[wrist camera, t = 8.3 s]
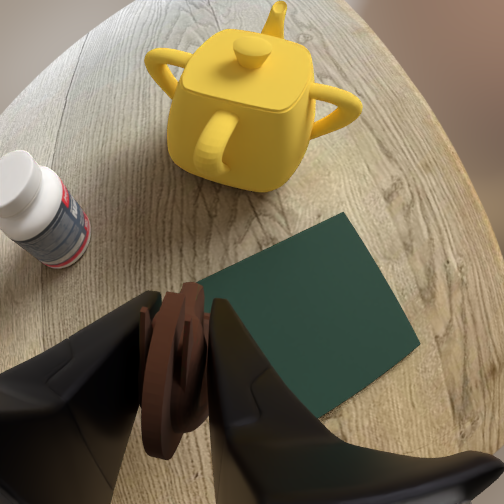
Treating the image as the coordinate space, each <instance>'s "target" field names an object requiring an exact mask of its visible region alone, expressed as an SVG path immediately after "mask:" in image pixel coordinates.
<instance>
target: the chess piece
mask: <svg viewBox="0 0 504 504" xmlns="http://www.w3.org/2000/svg"><path fill="white" fill-rule="evenodd" d="M204 298H205V296H204V289H203V286H202V285H200V284H198V283H195V282H186V283H183V287H182V289H181V291H180V293H179V294H178V293H173V292H166V295H165V297H164V299H163V302H162V305H161V307H160V310H159V312H157V313H156V315H155V316H154V318H153V320H152V321H151V320H150V315H149V311H148V307H143V306H142V308H141V310H140V323H139V350H140V361H139V370H138V396H139V403H140V407H141V431H142V441H143V446H144V449H145V452H146V453H147V455H149V456H152V457H156V458H160V459H164V460H169V459H171V458H172V456H173V455H174V453H175V451H176V449H177V447H178V445H179V443H180V440H181V438H182V435H183V433H186V432H191V431H193V430H195V429H196V428H198V427H199V426H200V425H201V424H202V423H203V422H204V421H205V420H206V418H207V417H208V416H209V409H208V391H207V355H208V334H209V318H210V313H205V312H204Z"/></svg>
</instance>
